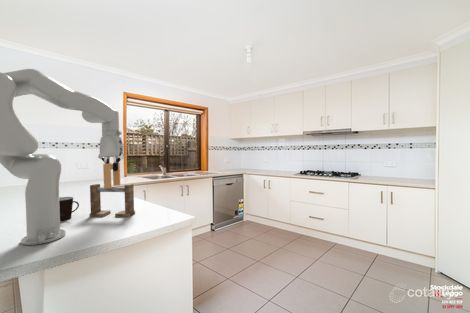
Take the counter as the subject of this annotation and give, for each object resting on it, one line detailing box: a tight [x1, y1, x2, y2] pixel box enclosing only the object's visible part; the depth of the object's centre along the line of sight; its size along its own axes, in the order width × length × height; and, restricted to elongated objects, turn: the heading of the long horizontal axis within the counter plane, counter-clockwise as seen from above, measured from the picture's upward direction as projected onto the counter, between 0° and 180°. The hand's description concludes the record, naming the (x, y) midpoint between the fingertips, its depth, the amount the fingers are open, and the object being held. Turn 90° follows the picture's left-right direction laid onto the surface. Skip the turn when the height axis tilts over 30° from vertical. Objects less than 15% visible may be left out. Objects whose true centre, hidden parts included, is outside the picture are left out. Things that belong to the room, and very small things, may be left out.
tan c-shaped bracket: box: [102, 162, 121, 188], centre depth 111 cm, size 3×9×12 cm, turn 178°
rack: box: [88, 183, 136, 218], centre depth 112 cm, size 20×6×16 cm, turn 88°
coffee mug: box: [59, 196, 80, 222], centre depth 105 cm, size 12×9×10 cm
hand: (111, 170), depth 111 cm, fingers closed on tan c-shaped bracket, 3 cm apart
